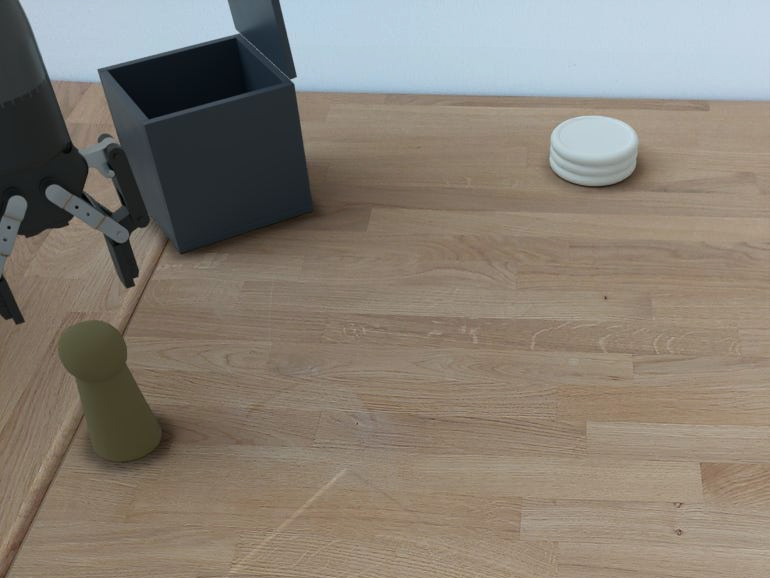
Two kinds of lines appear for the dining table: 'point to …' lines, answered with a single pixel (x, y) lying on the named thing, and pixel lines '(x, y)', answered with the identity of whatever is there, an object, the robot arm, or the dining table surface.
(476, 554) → the dining table surface
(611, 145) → the coaster
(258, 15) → the lid
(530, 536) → the dining table surface
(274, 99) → the chest
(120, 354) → the olive green game pawn
